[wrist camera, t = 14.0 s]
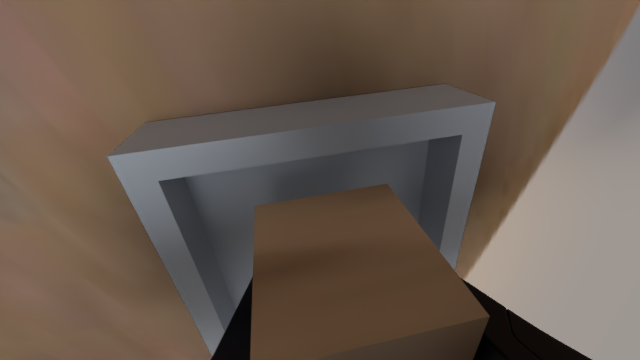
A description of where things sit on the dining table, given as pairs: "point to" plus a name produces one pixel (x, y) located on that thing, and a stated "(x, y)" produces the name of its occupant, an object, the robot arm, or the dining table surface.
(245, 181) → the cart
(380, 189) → the walnut block
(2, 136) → the dining table surface
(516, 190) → the dining table surface
